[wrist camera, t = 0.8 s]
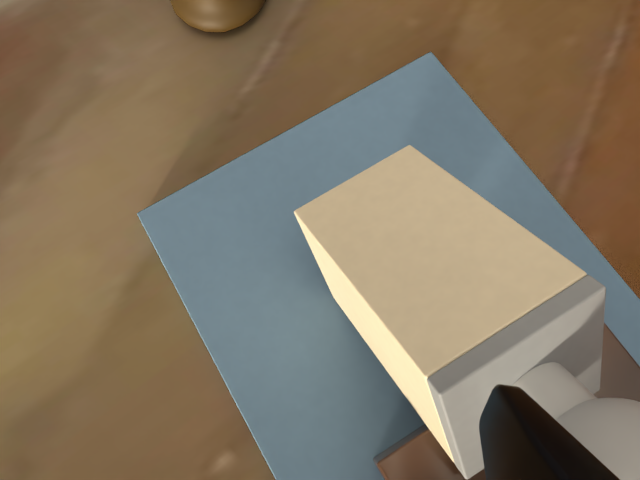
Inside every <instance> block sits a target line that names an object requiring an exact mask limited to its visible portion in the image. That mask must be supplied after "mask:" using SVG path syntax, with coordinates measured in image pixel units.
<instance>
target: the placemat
mask: <svg viewBox="0 0 640 480" xmlns="http://www.w3.org/2000/svg"><path fill="white" fill-rule="evenodd" d="M408 145H411V146H412V147H414V148H415V149H416V150H418V151H419V152H421V153H422V154H423V155H425V156H426V157H427V158H429V159H430V160H432V161H433V162H434V163H436V164H437V165H438V166H440V167H441V168H443V169H444V170H445V171H447V172H448V173H450V174H451V175H452V176H454V177H455V178H456V179H458V180H459V181H461V182H462V183H463V184H465V185H466V186H467V187H469V188H470V189H472V190H473V191H474V192H476V193H477V194H478V195H480V196H481V197H483V198H484V199H485V200H487V201H488V202H490V203H491V204H492V205H494V206H495V207H496V208H498V209H499V210H501V211H502V212H503V213H505V214H506V215H507V216H509V217H510V218H512V219H513V220H514V221H516V222H517V223H519V224H520V225H521V226H523V227H524V228H525V229H527V230H528V231H530V232H531V233H532V234H534V235H535V236H536V237H538V238H539V239H541V240H542V241H543V242H545V243H546V244H548V245H549V246H550V247H552V248H553V249H554V250H556V251H557V252H559V253H560V254H561V255H563V256H564V257H565V258H567V259H568V260H570V261H571V262H572V263H574V264H575V265H576V266H578V267H579V268H581V269H582V270H583V271H585V272H586V273H587V275H590V276H592V277H593V278H594V279H596V280H597V281H599V282H600V283H601V284H603V285H604V286H605V287H606V298H605V314H604V323H605V324H606V325H607V326H608V328H609V329H610V330H611V331H612V333H613V334H614V335H615V336H616V338H617V339H618V340H619V341H620V343H621V344H622V345H623V346H624V348H625V349H626V350H627V351H628V353H629V354H630V355H631V356H632V358H633V359H634V360H635V361H636V362H637V364H638V365H639V366H640V299H639V298H638V297H637V296H636V295H635V293H634V292H633V291H632V290H631V289H630V287H629V286H628V285H627V284H626V283H625V282H624V280H623V279H622V278H621V277H620V276H619V274H618V273H617V272H616V271H615V270H614V268H613V267H612V266H611V265H610V264H609V263H608V261H607V260H606V259H605V258H604V257H603V255H602V254H601V253H600V252H599V251H598V249H597V248H596V247H595V246H594V245H593V244H592V242H591V241H590V240H589V239H588V238H587V236H586V235H585V234H584V233H583V232H582V230H581V229H580V228H579V227H578V226H577V225H576V223H575V222H574V221H573V220H572V219H571V217H570V216H569V215H568V214H567V213H566V211H565V210H564V209H563V208H562V207H561V206H560V204H559V203H558V202H557V201H556V200H555V198H554V197H553V196H552V195H551V194H550V192H549V191H548V190H547V189H546V188H545V186H544V185H543V184H542V183H541V182H540V181H539V179H538V178H537V177H536V176H535V175H534V173H533V172H532V171H531V170H530V169H529V167H528V166H527V165H526V164H525V163H524V162H523V160H522V159H521V158H520V157H519V156H518V154H517V153H516V152H515V151H514V150H513V148H512V147H511V146H510V145H509V144H508V143H507V141H506V140H505V139H504V138H503V137H502V135H501V134H500V133H499V132H498V131H497V129H496V128H495V127H494V126H493V125H492V124H491V122H490V121H489V120H488V119H487V118H486V116H485V115H484V114H483V113H482V112H481V110H480V109H479V108H478V107H477V106H476V105H475V103H474V102H473V101H472V100H471V99H470V97H469V96H468V95H467V94H466V93H465V91H464V90H463V89H462V88H461V87H460V86H459V84H458V83H457V82H456V81H455V80H454V78H453V77H452V76H451V75H450V74H449V72H448V71H447V70H446V69H445V68H444V67H443V65H442V64H441V63H440V62H439V61H438V59H437V58H436V57H435V56H434V55H433V53H432V52H429V53H427V54H425V55H424V56H422V57H420V58H418V59H416V60H414V61H413V62H411V63H409V64H407V65H405V66H404V67H402V68H400V69H398V70H396V71H394V72H393V73H391V74H389V75H387V76H385V77H384V78H382V79H380V80H378V81H376V82H374V83H373V84H371V85H369V86H367V87H365V88H364V89H362V90H360V91H358V92H356V93H354V94H353V95H351V96H349V97H347V98H345V99H344V100H342V101H340V102H338V103H336V104H334V105H333V106H331V107H329V108H327V109H325V110H324V111H322V112H320V113H318V114H316V115H315V116H313V117H311V118H309V119H307V120H305V121H304V122H302V123H300V124H298V125H296V126H295V127H293V128H291V129H289V130H287V131H285V132H284V133H282V134H280V135H278V136H276V137H275V138H273V139H271V140H269V141H267V142H265V143H264V144H262V145H260V146H258V147H256V148H255V149H253V150H251V151H249V152H247V153H245V154H244V155H242V156H240V157H238V158H236V159H235V160H233V161H231V162H229V163H227V164H226V165H224V166H222V167H220V168H218V169H216V170H215V171H213V172H211V173H209V174H207V175H206V176H204V177H202V178H200V179H198V180H196V181H195V182H193V183H191V184H189V185H187V186H186V187H184V188H182V189H180V190H178V191H176V192H175V193H173V194H171V195H169V196H167V197H166V198H164V199H162V200H160V201H158V202H156V203H155V204H153V205H151V206H149V207H147V208H146V209H144V210H142V211H140V212H138V213H137V215H138V217H139V219H140V221H141V223H142V225H143V227H144V228H145V230H146V232H147V234H148V236H149V238H150V240H151V242H152V244H153V246H154V248H155V250H156V251H157V253H158V255H159V257H160V259H161V261H162V263H163V265H164V267H165V269H166V271H167V272H168V274H169V276H170V278H171V280H172V282H173V284H174V286H175V288H176V290H177V292H178V294H179V295H180V297H181V299H182V301H183V303H184V305H185V307H186V309H187V311H188V313H189V315H190V317H191V318H192V320H193V322H194V324H195V326H196V328H197V330H198V332H199V334H200V336H201V338H202V339H203V341H204V343H205V345H206V347H207V349H208V351H209V353H210V355H211V357H212V359H213V361H214V362H215V364H216V366H217V368H218V370H219V372H220V374H221V376H222V378H223V380H224V382H225V383H226V385H227V387H228V389H229V391H230V393H231V395H232V397H233V399H234V401H235V403H236V405H237V406H238V408H239V410H240V412H241V414H242V416H243V418H244V420H245V422H246V424H247V426H248V427H249V429H250V431H251V433H252V435H253V437H254V439H255V441H256V443H257V445H258V447H259V449H260V450H261V452H262V454H263V456H264V458H265V460H266V462H267V464H268V466H269V468H270V470H271V472H272V473H273V475H274V477H275V479H276V480H384V478H383V476H382V475H381V473H380V471H379V470H378V468H377V466H376V465H375V463H374V461H373V458H374V457H375V456H377V455H378V454H380V453H381V452H383V451H384V450H386V449H387V448H389V447H390V446H392V445H393V444H395V443H396V442H398V441H400V440H401V439H403V438H404V437H406V436H407V435H409V434H410V433H412V432H413V431H415V430H416V429H418V428H419V427H421V426H422V425H424V424H425V423H424V421H423V420H422V419H421V417H420V416H419V415H418V413H417V412H416V410H415V409H414V408H413V406H412V405H411V404H410V402H409V401H408V399H407V398H406V397H405V395H404V394H403V393H402V391H401V390H400V388H399V387H398V386H397V384H396V383H395V382H394V380H393V379H392V377H391V376H390V375H389V373H388V372H387V371H386V369H385V368H384V366H383V365H382V364H381V362H380V361H379V360H378V358H377V357H376V355H375V354H374V353H373V351H372V350H371V349H370V347H369V346H368V344H367V343H366V342H365V340H364V339H363V338H362V336H361V335H360V333H359V332H358V331H357V329H356V328H355V327H354V325H353V324H352V322H351V321H350V320H349V318H348V317H347V316H346V314H345V313H344V311H343V310H342V309H341V307H340V306H339V305H338V303H337V302H336V300H335V299H334V298H333V296H332V293H331V291H330V289H329V287H328V285H327V283H326V281H325V278H324V276H323V274H322V272H321V270H320V268H319V265H318V263H317V261H316V259H315V257H314V255H313V253H312V250H311V248H310V246H309V244H308V242H307V240H306V238H305V235H304V233H303V231H302V229H301V227H300V225H299V223H298V220H297V218H296V216H295V214H294V211H295V210H296V209H298V208H300V207H302V206H303V205H305V204H307V203H309V202H310V201H312V200H314V199H315V198H317V197H319V196H321V195H322V194H324V193H326V192H328V191H329V190H331V189H333V188H335V187H336V186H338V185H340V184H342V183H343V182H345V181H347V180H349V179H350V178H352V177H354V176H356V175H357V174H359V173H361V172H363V171H364V170H366V169H368V168H370V167H371V166H373V165H375V164H377V163H378V162H380V161H382V160H383V159H385V158H387V157H389V156H390V155H392V154H394V153H396V152H397V151H399V150H401V149H403V148H404V147H406V146H408Z"/></svg>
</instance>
